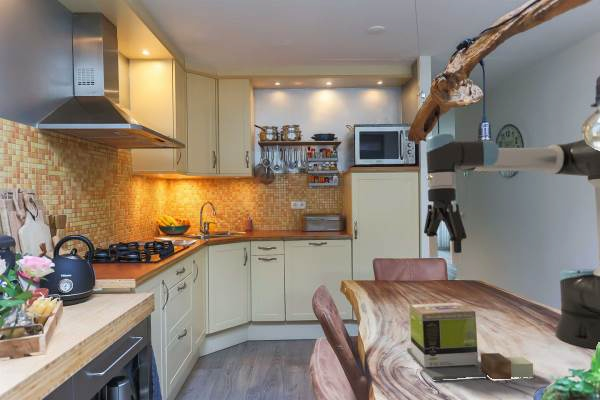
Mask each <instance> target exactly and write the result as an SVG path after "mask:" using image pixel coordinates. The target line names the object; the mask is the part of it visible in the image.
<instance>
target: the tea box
mask: <svg viewBox="0 0 600 400" xmlns="http://www.w3.org/2000/svg"><path fill="white" fill-rule="evenodd" d="M409 317H410V318H409V321H410V345H411V347H410V348H412V353H413V355H414V356H415V357H416V358H417V359H418V360H419V361H420V362H421V364H422V365H423V366H424V367H441V366H461V365H476V366H477V365H479V355H478V352H479V351H478V335H477V334H478V332H477V318H476V311H475V310H473V309H471V308H469V307H467V306H465V305H463V304H461V303H460V302H457V301H453V302H432V303H428V302H427V303H415V304H414V303H413V304H411V303H410V304H409Z"/></svg>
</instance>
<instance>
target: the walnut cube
mask: <svg viewBox="0 0 600 400" xmlns="http://www.w3.org/2000/svg"><path fill="white" fill-rule="evenodd" d="M506 357H507V356H504V355H502V354H501V353H499V352H489V353H485V352H484V353H480V369H481V370H482V371H483V372H484V373H486V375H488V376H489V377H490V378H492V379H511V361H510V360H508V359H507V358H506Z"/></svg>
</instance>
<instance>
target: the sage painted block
mask: <svg viewBox="0 0 600 400" xmlns="http://www.w3.org/2000/svg"><path fill="white" fill-rule="evenodd" d="M505 357H506V358H507V359H508V360H510V361H511V377H513V378H514V377H519V378H520V377H521V378H523V377H528V378H529V377H533V378H534V363H532V362H531V361H529V360H528V359H526V358H525V357H524V356H513V357H512V356H511V357H509V356H505Z"/></svg>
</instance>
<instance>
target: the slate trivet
mask: <svg viewBox="0 0 600 400" xmlns="http://www.w3.org/2000/svg"><path fill="white" fill-rule="evenodd" d="M406 351H407V353H408V355H409V356H410V355H411V356H412V357H413V358H412V357H411V356H410V357H411V358H412V359H413V360H414V359H415V360H414V361H415V363H416V364H417V365H418V364H419V365H420V366H421V367H422V368H423V369H422V368H421V367H420V366H419V365H418V366H419V367H420V368H421V369H422V370H423V371H424V373H427V374H428V375H429V376H430V377H431V378H432V379H433V380H443V379H457V378H466V377H487V375H486V373H484V372H483V371H482V370H481V368H480V367H478V366H477V365H461V366H441V367H424V366H423V365H422V364H421V362H420V361H419V360H418V359H417V358H416V357H415V356H414V355H413V353H412V348H411V347H407V349H406ZM427 374H426V375H427ZM428 375H427V376H428ZM429 376H428V377H429ZM430 377H429V378H430ZM431 378H430V379H431ZM432 379H431V380H432ZM433 380H432V381H433Z"/></svg>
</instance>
